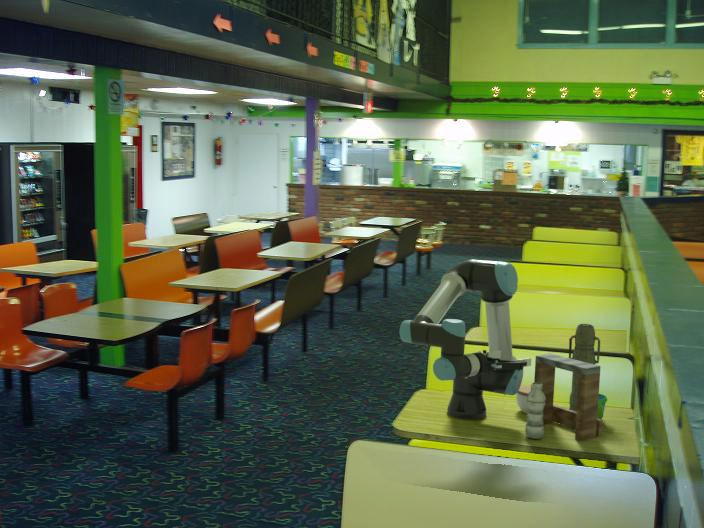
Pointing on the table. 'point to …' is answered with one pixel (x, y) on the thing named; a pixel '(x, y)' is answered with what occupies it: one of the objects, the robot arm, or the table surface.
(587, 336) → the thermos
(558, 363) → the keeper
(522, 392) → the lidded bowl
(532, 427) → the plastic bottle
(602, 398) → the snack cup
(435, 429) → the table surface
